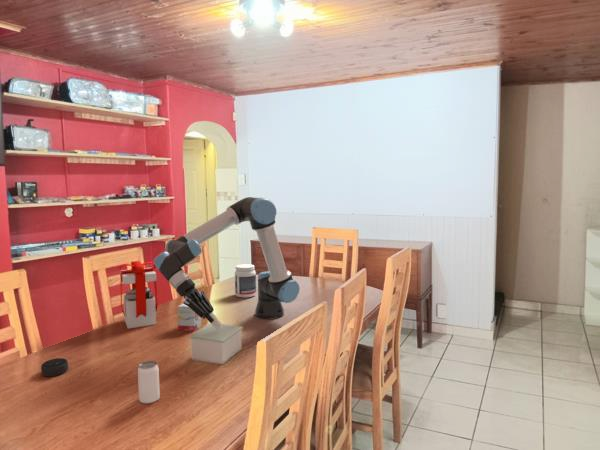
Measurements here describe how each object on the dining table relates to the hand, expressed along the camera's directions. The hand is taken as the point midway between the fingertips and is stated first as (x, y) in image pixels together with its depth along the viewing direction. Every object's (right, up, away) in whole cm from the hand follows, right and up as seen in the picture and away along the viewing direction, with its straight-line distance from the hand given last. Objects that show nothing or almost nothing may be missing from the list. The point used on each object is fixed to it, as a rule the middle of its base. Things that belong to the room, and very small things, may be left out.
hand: (219, 327), depth 182 cm
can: (-17, -16, -34) cm, 42 cm away
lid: (-1, -3, +1) cm, 3 cm away
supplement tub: (0, -2, +91) cm, 91 cm away
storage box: (-1, -12, +2) cm, 12 cm away
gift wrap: (-47, -7, +42) cm, 64 cm away
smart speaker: (-59, -14, -14) cm, 62 cm away
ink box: (-20, -8, +34) cm, 40 cm away
